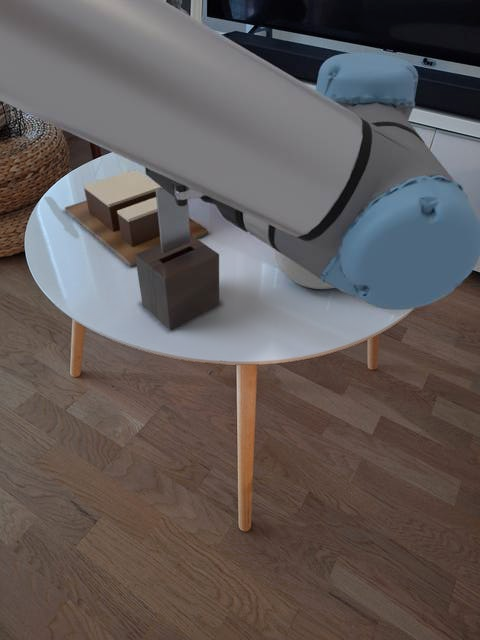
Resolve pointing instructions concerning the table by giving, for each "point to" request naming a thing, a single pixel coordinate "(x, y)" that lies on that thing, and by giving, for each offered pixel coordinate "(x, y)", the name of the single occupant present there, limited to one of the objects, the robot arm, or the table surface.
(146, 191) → the cake
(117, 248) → the cake board
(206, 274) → the knife block
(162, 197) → the knife
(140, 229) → the cake slice
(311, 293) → the table surface
